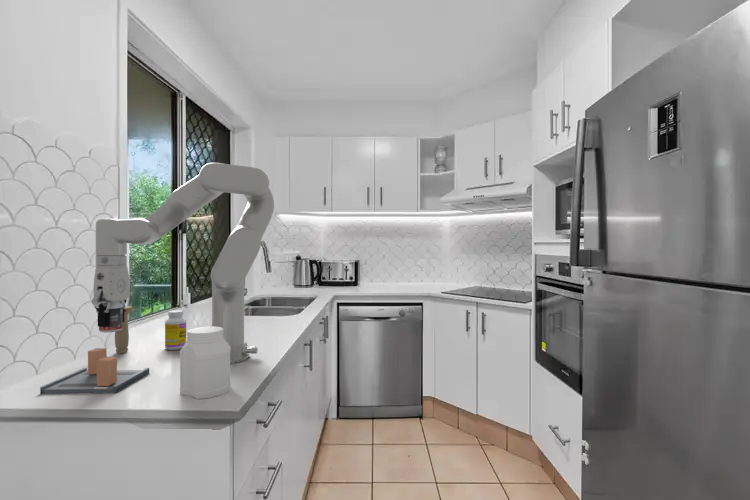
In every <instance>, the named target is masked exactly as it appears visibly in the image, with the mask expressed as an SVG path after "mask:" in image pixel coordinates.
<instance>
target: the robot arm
mask: <svg viewBox="0 0 750 500" xmlns="http://www.w3.org/2000/svg"><path fill="white" fill-rule="evenodd" d="M198 173H199V174H198V175H196V176H194V177H193V178H192V179H190V180H188V181H187V182H186V183H185V182H184V184H183V185H181V186H179V187H178V188H177V189H175V190H174V191H172V192H171V193H170V194H169V196H168V197H167V199H166V200H165V202H164V203H163V204H162V205H160V207H158V208H157V209H156V210H155V211H153V212H152V213H150V214H149V215H148V216H146V217H145V218H130V219H120V218H119V219H118V218H99V219H98V220H97V221H96V223H95V271H94V279H93V297H92V299H91V301H90V302H91V303H90V304H92V305H93V307H94V309H95V310H96V313H97V327H98V328H99V327H109V326H110V312H109V308H110V303H111V302H116V301H120V303H121V304H122V305H123V322H124V308H125V307H126V303H127V300H128V299H129V298H130V297H131V287H130V286H131V283H130V274H129V268H128V264H127V261H128V260H127V258H128V256H127V253H128V251H127V250H128V246H127V244H133V245H141V246H142V245H151V244H153V243H155V242H156V241H158V240H159V239H161V238H163V237H164V236H165V235H167V234H168V233H170V232H171V231H172V230H174V229H175V228H176V227H178V226H179V225H180V224H182V223H183V222H184V221H186V220H187V219H189V218H190V217H192V216H193V215H194V214H196V212H198V211H200V210H201V209H202V208H204V207H205V206H207V205H208V204H209V203H211V202H212V201H213V200H215V199H218V197H219V196H221V195H222V194H224V193H227V194H236V195H243V196H244V197H245V198H246V207H245V208H244V211H243V213H242V215H241V217H240V219H239V221H238V223H237V225H236V227H235V228H234V229H233V230H232V232H230V234H229V236H228V238H227V239H226V242H225V244H224V245H223V248H222V249H221V251H220V253H219V255H218V257H217V259H216V260H215V262H214V265H213V267H212V269H211V272H210V281H211V326H213V327H222V328H223V337H224V339H225V340H226V342H227V343H228V344H229V346H230V348H231V352H230V364H235V362H236V363H239V362H238V361H240V362H243V361H242V360H244V361H246V360H247V358H248V357H249V358H250V354H253V355H254V354H255V355H256V354H258V347H257V346H255V345H253V346H249V345H248V342H247V341H245V280H246V277H247V276H248V273H249V272H250V270H251V268H252V266H253V264H254V262H255V260H256V258H257V256H258V255H259V252H260V250H261V247H262V238H263V236H264V234H265V233H266V230H267V228H268V225H269V223H270V222H271V219H272V217H273V213H274V209H275V201H274V196H273V193H272V191H271V189H270V187H269V186H270V179H269V176H268V175H267V173H266V172H264V171H263V170H262V169H260V168H257V167H253V166H245V165H239V164H238V165H237V164H231V163H230V164H228V163H222V162H209V163H206V164H204V165H203V166H202V167H201V169H200V171H199V172H198ZM103 300H106V301H103ZM103 304H106V305H105V306H104V305H103ZM249 358H248V359H249ZM245 359H246V360H245Z"/></svg>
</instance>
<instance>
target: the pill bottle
mask: <svg viewBox="0 0 750 500" xmlns="http://www.w3.org/2000/svg"><path fill="white" fill-rule="evenodd" d="M103 301H106V300H103ZM103 305H104V306H105V305H106V304H103ZM109 312H110V326H109V327H98V331H99V332H100V333H115V332H117V331H120V330H122V327H123V305H122V304H121V303H120V301H116V302H111V303H110V308H109Z"/></svg>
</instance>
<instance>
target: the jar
mask: <svg viewBox="0 0 750 500" xmlns="http://www.w3.org/2000/svg"><path fill="white" fill-rule="evenodd" d="M230 352H231V348H230V346H229V344H228V343H227V342H226V340H225V339H224V337H223V328H222V327H213V326H212V325H211V326H199V327H194V328H191V329H188V330H186V343H185V345H184V346H183V348H182V349H180V351H179V368H180V369H179V378H180V381H179V382H180V383H179V386H180V387H179V394H180V395H183V396H189V397H192V398H194V399H196V400H204V399H209V398H211V399H212V398H215V397H218V396H222V395H224V394H226V393H228V392H229V391H230V389H231V388H232V387H231V386H232V385H231V384H232V383H231V363H230ZM221 394H222V395H221Z"/></svg>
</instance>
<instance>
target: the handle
mask: <svg viewBox="0 0 750 500" xmlns="http://www.w3.org/2000/svg"><path fill="white" fill-rule="evenodd" d="M133 309H134V308H133V306H130V305H129V306H127V305H125V308H124V322H123V327H122V330H120V331H117V332H114V346H115V353H116V354H125V353H128V351H129V348H128V347H129V343H130V342H129V341H130V337H129V319H128V316H129V314H130V313H131V312H133Z"/></svg>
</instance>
